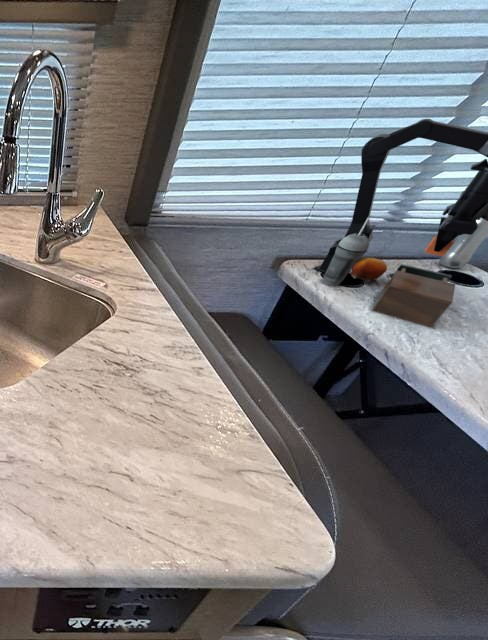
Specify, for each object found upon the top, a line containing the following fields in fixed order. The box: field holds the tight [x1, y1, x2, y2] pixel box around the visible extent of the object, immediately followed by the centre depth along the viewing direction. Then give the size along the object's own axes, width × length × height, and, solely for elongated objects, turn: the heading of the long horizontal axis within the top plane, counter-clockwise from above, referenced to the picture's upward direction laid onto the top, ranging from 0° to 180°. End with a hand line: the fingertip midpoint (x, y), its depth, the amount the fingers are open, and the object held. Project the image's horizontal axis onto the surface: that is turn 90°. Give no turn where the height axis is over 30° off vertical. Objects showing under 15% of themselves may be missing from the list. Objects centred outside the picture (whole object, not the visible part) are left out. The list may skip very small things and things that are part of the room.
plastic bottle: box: [438, 218, 488, 269], centre depth 124 cm, size 6×7×20 cm
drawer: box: [396, 263, 453, 282], centre depth 114 cm, size 17×11×6 cm
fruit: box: [350, 256, 388, 284], centre depth 123 cm, size 8×8×8 cm
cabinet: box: [372, 270, 456, 328], centre depth 108 cm, size 14×13×8 cm
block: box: [424, 234, 455, 257], centre depth 110 cm, size 4×4×4 cm
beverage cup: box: [321, 217, 371, 287], centre depth 117 cm, size 7×7×20 cm
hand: (436, 249), depth 110 cm, fingers closed on block, 4 cm apart
